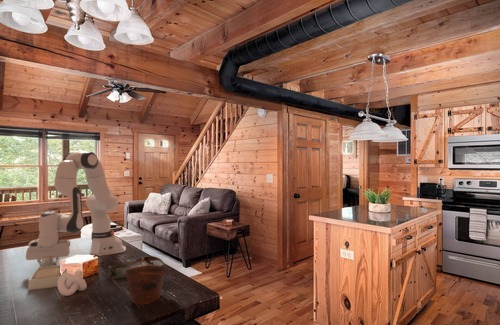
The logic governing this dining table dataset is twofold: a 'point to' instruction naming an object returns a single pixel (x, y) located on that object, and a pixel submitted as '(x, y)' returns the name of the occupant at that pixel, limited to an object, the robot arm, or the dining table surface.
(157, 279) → the brown bucket
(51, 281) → the tote
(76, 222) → the robot arm
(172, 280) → the dining table surface
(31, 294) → the dining table surface
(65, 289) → the pretzel
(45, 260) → the copper capped metal stub
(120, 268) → the beverage carton
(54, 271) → the beige rectangular block
